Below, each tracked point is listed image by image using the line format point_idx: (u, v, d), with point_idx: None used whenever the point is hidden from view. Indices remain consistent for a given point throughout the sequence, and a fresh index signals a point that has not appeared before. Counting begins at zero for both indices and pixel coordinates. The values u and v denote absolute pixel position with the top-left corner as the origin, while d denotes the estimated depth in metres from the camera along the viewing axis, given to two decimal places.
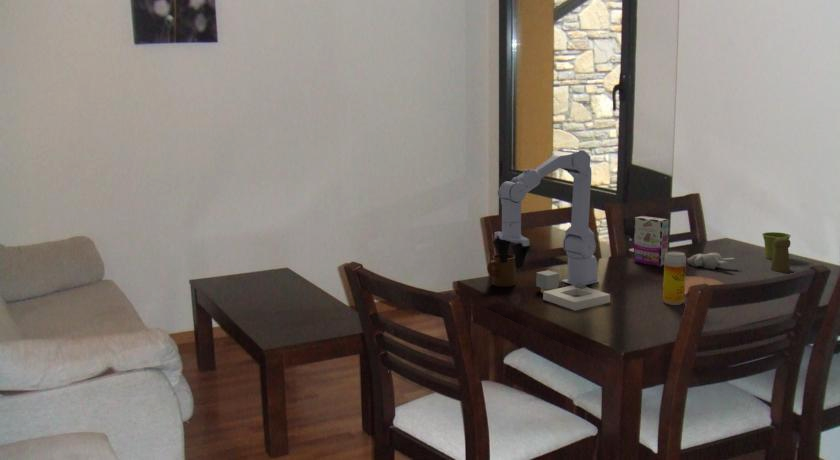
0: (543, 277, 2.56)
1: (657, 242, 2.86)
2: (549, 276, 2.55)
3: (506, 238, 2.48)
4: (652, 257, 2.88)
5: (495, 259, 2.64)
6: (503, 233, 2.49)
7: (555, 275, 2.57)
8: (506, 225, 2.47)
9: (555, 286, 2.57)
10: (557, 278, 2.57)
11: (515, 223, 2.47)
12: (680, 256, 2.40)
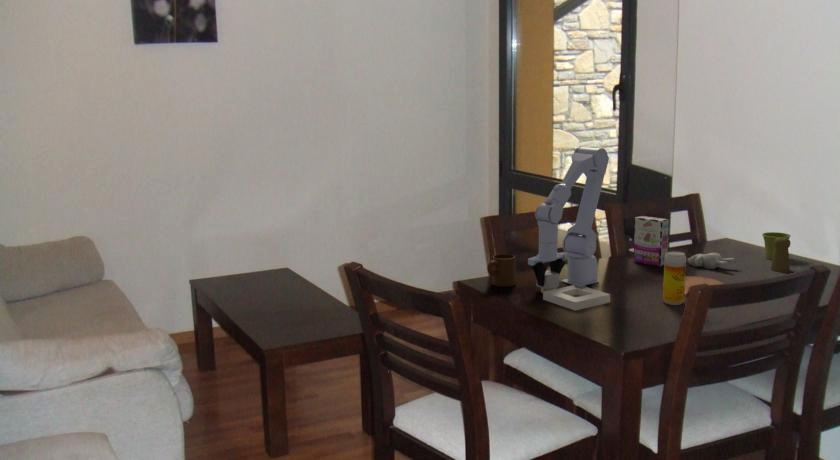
0: None
1: (657, 242, 2.86)
2: (549, 276, 2.55)
3: None
4: (652, 257, 2.88)
5: (495, 259, 2.64)
6: None
7: (555, 275, 2.57)
8: None
9: (555, 286, 2.57)
10: (557, 278, 2.57)
11: (539, 243, 2.55)
12: (680, 256, 2.40)
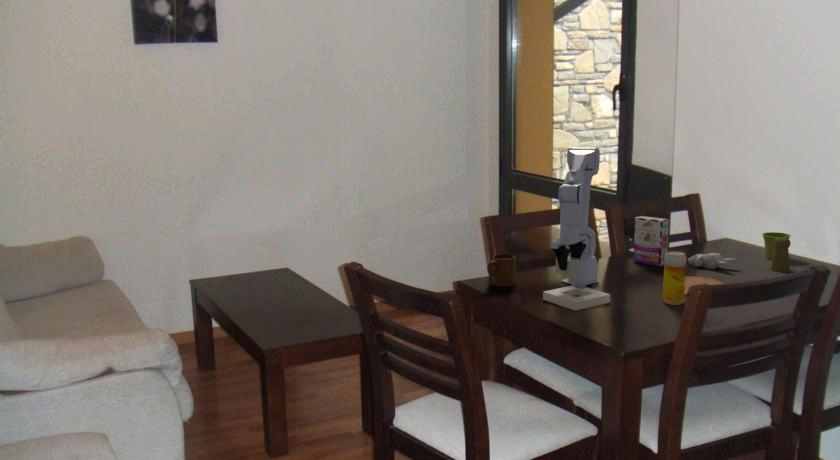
0: None
1: (657, 242, 2.86)
2: (571, 262, 2.46)
3: None
4: (652, 257, 2.88)
5: (495, 259, 2.64)
6: None
7: (576, 260, 2.48)
8: None
9: (576, 272, 2.49)
10: (578, 264, 2.49)
11: (562, 225, 2.45)
12: (680, 256, 2.40)
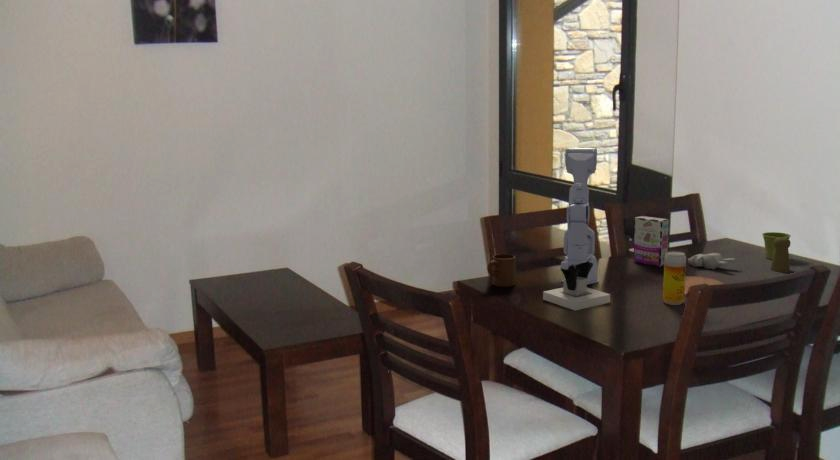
0: None
1: (657, 242, 2.86)
2: (579, 282, 2.45)
3: None
4: (652, 257, 2.88)
5: (495, 259, 2.64)
6: None
7: (583, 280, 2.47)
8: None
9: (583, 291, 2.47)
10: (585, 283, 2.47)
11: (570, 245, 2.43)
12: (680, 256, 2.40)
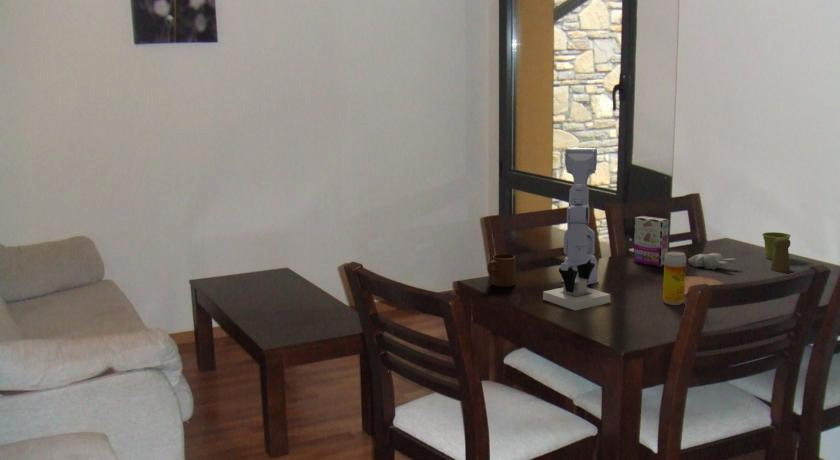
0: None
1: (657, 242, 2.86)
2: (580, 283, 2.45)
3: None
4: (652, 257, 2.88)
5: (495, 259, 2.64)
6: None
7: (584, 281, 2.46)
8: None
9: (584, 293, 2.47)
10: (585, 284, 2.47)
11: (570, 246, 2.43)
12: (680, 256, 2.40)
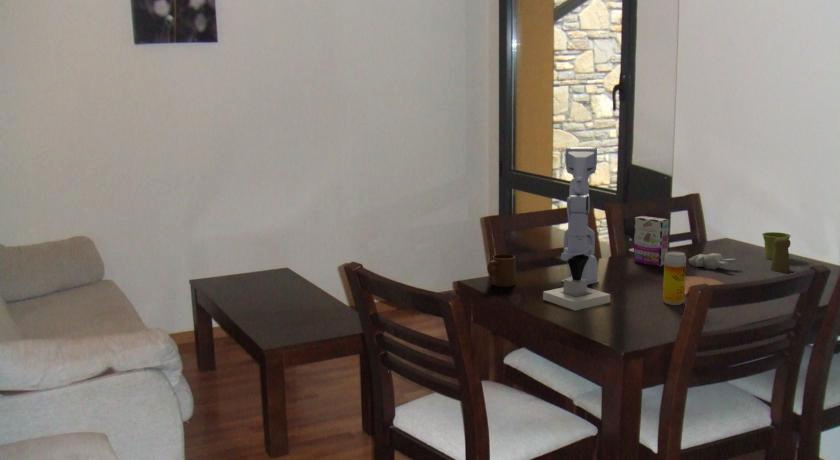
0: (573, 285, 2.45)
1: (657, 242, 2.86)
2: (580, 283, 2.45)
3: (566, 249, 2.46)
4: (652, 257, 2.88)
5: (495, 259, 2.64)
6: None
7: (584, 281, 2.46)
8: None
9: (584, 293, 2.47)
10: (585, 284, 2.47)
11: (570, 236, 2.43)
12: (680, 256, 2.40)
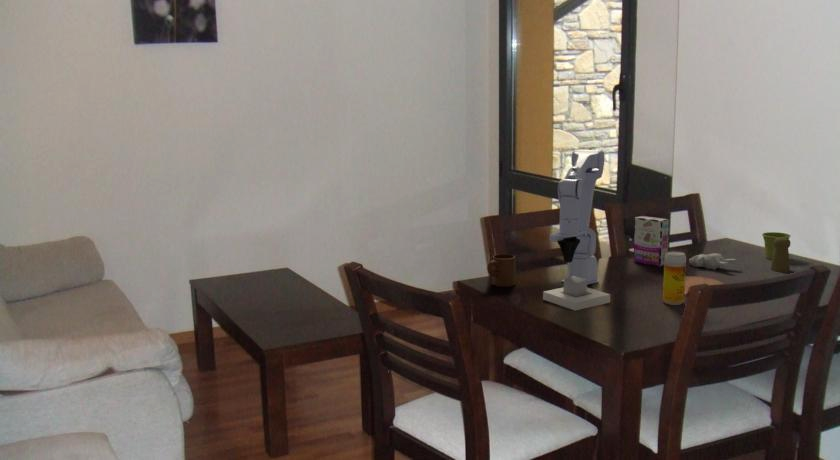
0: (573, 285, 2.45)
1: (657, 242, 2.86)
2: (580, 283, 2.45)
3: None
4: (652, 257, 2.88)
5: (495, 259, 2.64)
6: None
7: (584, 281, 2.46)
8: None
9: (584, 293, 2.47)
10: (585, 284, 2.47)
11: (561, 219, 2.50)
12: (680, 256, 2.40)
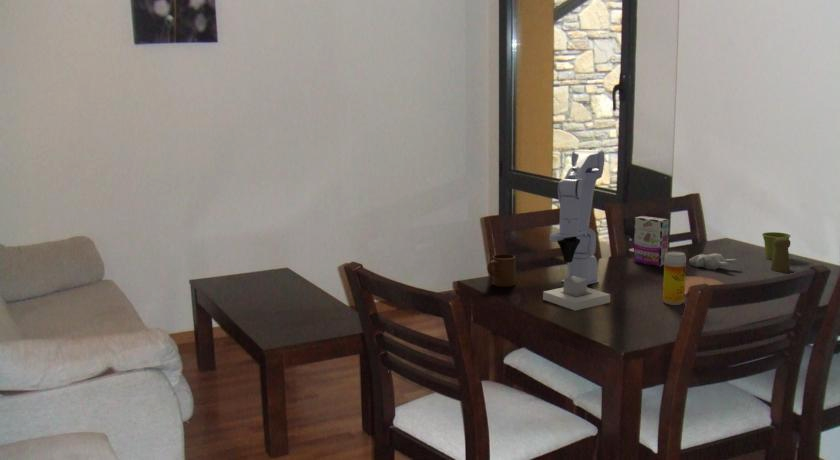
0: (573, 285, 2.45)
1: (657, 242, 2.86)
2: (580, 283, 2.45)
3: None
4: (652, 257, 2.88)
5: (495, 259, 2.64)
6: None
7: (584, 281, 2.46)
8: None
9: (584, 293, 2.47)
10: (585, 284, 2.47)
11: (561, 219, 2.50)
12: (680, 256, 2.40)
